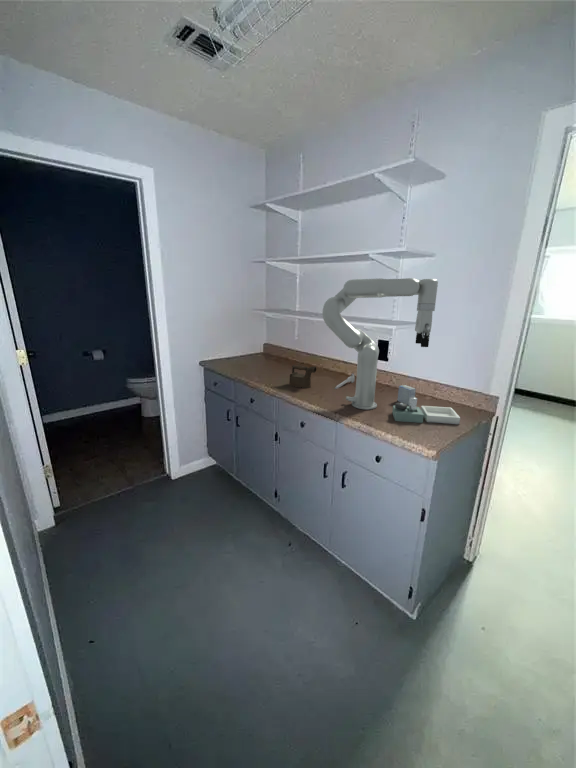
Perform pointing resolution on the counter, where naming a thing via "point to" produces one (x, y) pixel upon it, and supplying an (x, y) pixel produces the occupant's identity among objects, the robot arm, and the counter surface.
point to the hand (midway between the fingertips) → (421, 345)
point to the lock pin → (412, 404)
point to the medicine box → (405, 394)
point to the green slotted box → (406, 413)
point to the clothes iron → (301, 377)
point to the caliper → (346, 381)
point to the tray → (440, 415)
